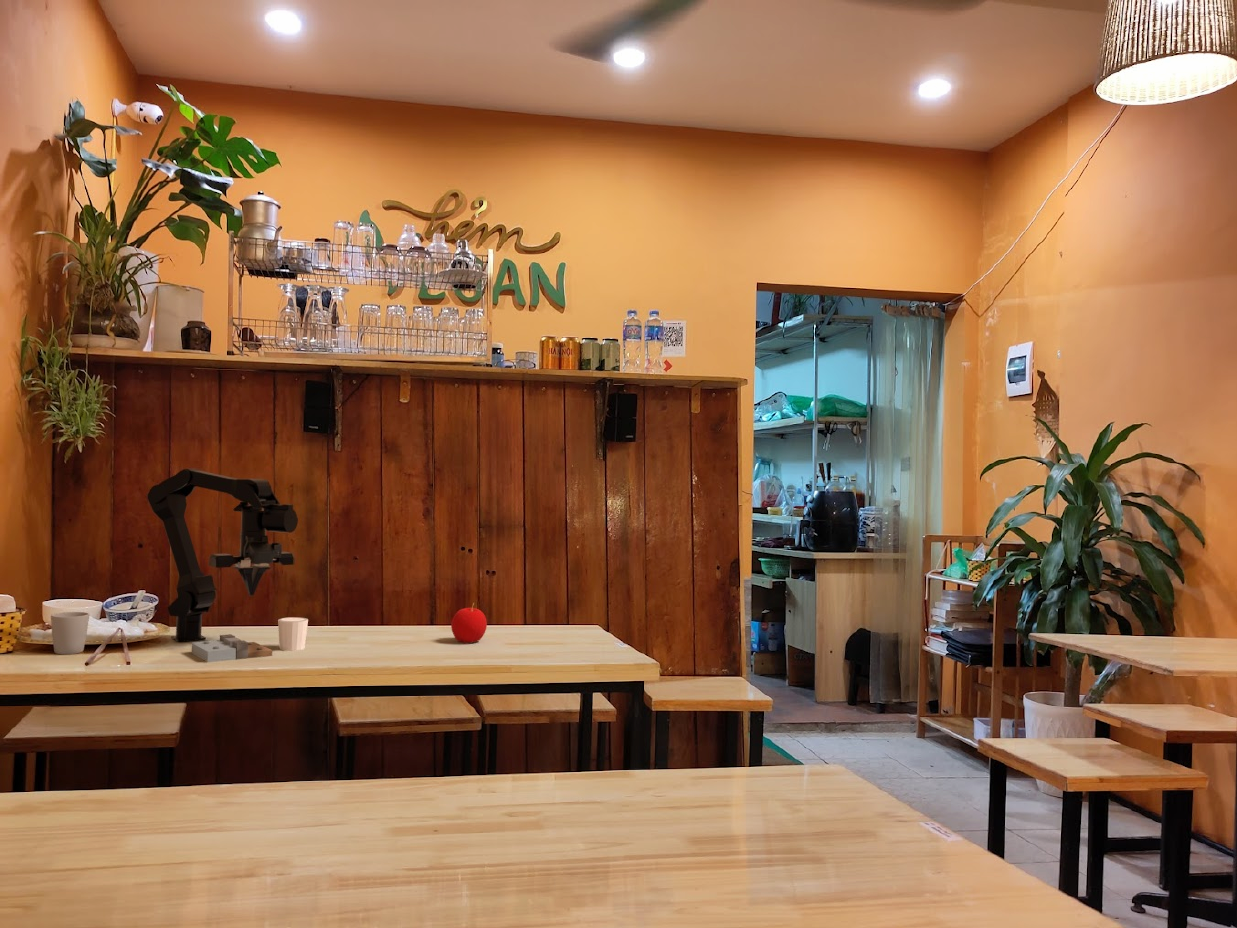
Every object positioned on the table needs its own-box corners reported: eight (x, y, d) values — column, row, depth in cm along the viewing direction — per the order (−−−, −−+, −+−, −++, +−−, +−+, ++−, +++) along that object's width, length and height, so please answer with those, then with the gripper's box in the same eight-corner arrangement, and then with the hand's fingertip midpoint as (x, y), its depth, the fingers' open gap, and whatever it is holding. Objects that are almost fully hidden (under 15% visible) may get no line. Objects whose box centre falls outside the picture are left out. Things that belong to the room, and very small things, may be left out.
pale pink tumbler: (311, 646, 229) (313, 617, 229) (299, 651, 222) (300, 622, 222) (284, 644, 230) (285, 616, 230) (271, 650, 223) (272, 620, 223)
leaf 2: (236, 659, 212) (237, 643, 212) (219, 650, 221) (219, 635, 221) (272, 655, 217) (272, 640, 217) (253, 646, 226) (254, 632, 226)
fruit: (483, 645, 238) (484, 605, 238) (447, 644, 238) (449, 604, 238) (488, 638, 247) (490, 600, 247) (454, 637, 247) (455, 599, 247)
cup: (45, 655, 208) (46, 617, 208) (56, 647, 218) (58, 610, 218) (84, 654, 211) (85, 616, 211) (93, 646, 220) (95, 610, 220)
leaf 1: (207, 662, 208) (207, 647, 208) (191, 653, 217) (191, 638, 217) (247, 658, 213) (247, 642, 213) (229, 649, 222) (229, 634, 222)
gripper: (224, 533, 216) (222, 602, 216) (304, 532, 228) (302, 597, 228) (209, 530, 225) (207, 596, 225) (286, 529, 237) (284, 591, 237)
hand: (251, 595), depth 228 cm, fingers closed
